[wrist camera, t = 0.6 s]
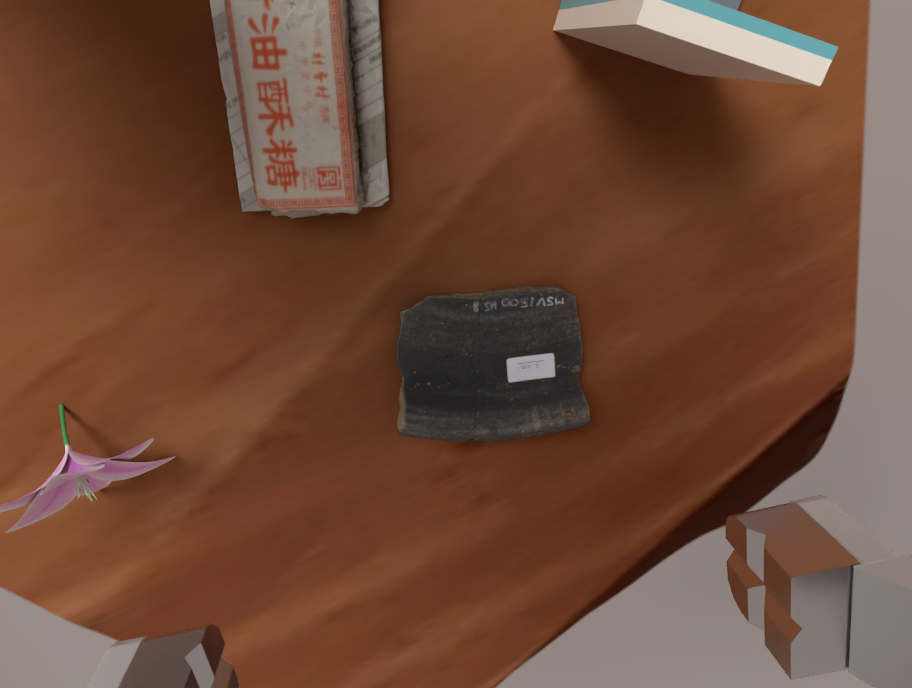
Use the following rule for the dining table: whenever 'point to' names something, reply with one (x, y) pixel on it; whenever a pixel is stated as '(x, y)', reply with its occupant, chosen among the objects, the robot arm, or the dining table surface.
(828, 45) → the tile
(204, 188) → the dining table surface
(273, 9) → the packaged product
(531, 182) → the dining table surface
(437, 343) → the pottery fragment
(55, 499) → the lily
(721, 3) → the mat
